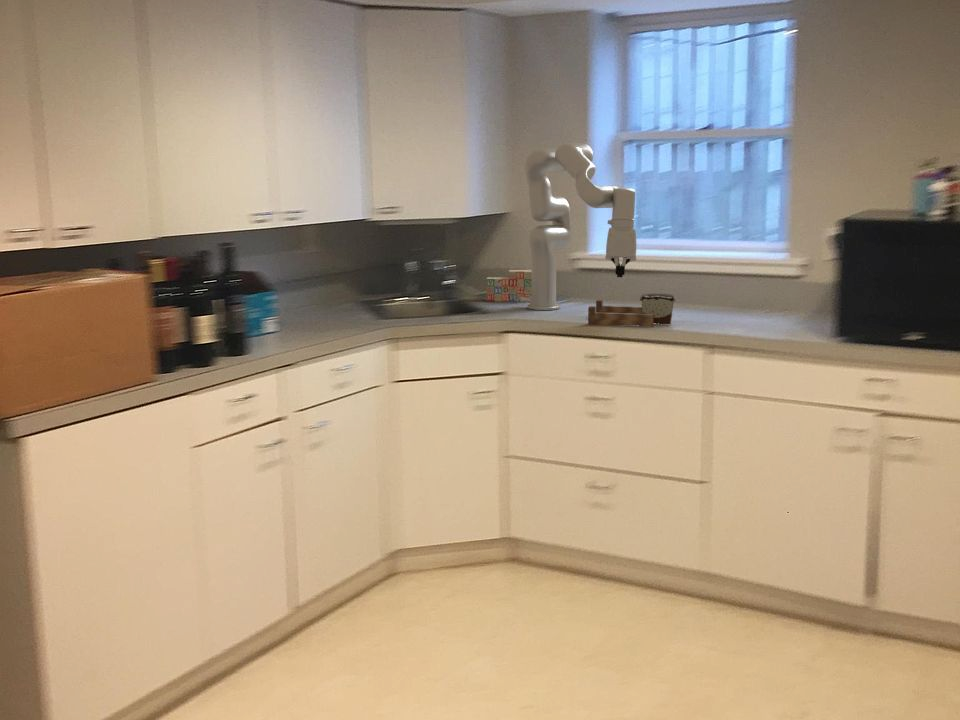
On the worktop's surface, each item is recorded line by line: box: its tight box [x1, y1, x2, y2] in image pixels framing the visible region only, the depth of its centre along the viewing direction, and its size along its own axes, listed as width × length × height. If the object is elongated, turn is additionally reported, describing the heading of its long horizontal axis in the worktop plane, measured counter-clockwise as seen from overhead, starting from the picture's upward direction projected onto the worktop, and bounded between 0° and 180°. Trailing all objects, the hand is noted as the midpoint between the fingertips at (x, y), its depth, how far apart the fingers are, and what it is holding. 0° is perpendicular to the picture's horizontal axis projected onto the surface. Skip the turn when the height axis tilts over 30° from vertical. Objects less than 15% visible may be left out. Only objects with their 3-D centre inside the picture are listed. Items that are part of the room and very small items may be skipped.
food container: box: [639, 292, 677, 325], centre depth 345 cm, size 12×6×10 cm, turn 69°
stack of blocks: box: [486, 269, 531, 302], centre depth 405 cm, size 21×6×12 cm, turn 87°
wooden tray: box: [587, 299, 654, 327], centre depth 350 cm, size 22×20×6 cm
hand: (619, 276), depth 348 cm, fingers closed
